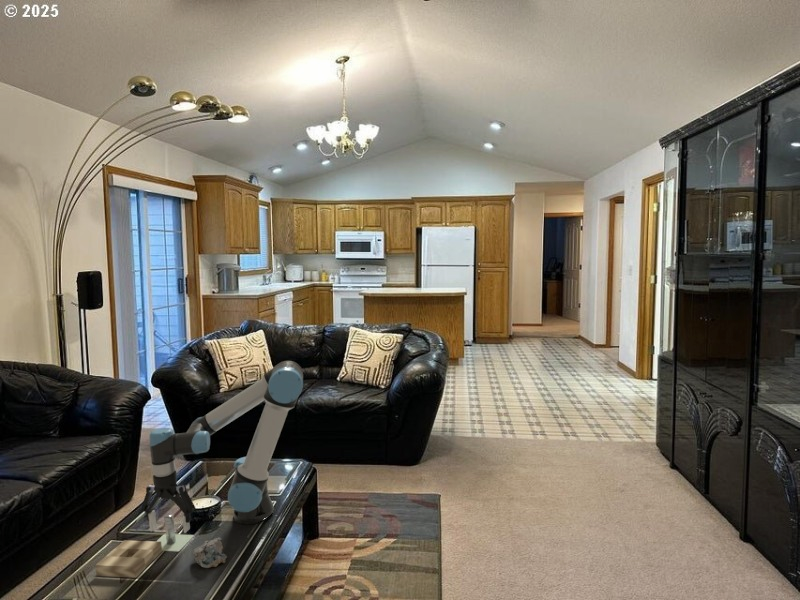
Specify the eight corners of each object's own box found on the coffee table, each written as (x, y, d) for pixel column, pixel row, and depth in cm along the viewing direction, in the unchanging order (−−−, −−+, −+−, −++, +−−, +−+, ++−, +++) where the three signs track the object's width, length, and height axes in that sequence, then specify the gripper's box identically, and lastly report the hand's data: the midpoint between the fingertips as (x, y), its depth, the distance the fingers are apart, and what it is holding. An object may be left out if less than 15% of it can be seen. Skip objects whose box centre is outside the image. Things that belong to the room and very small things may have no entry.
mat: (194, 536, 186) (194, 535, 186) (178, 552, 176) (178, 551, 176) (164, 534, 188) (164, 533, 188) (147, 551, 178) (147, 549, 178)
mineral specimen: (209, 582, 167) (220, 556, 177) (224, 569, 165) (234, 544, 174) (185, 567, 165) (197, 541, 174) (199, 554, 163) (211, 529, 172)
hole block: (162, 552, 177) (161, 541, 176) (136, 578, 163) (134, 566, 162) (125, 550, 179) (124, 540, 178) (96, 576, 165) (95, 565, 164)
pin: (177, 540, 183) (175, 513, 182) (172, 544, 180) (170, 518, 179) (169, 539, 184) (167, 513, 183) (164, 544, 181) (162, 517, 180)
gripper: (202, 468, 181) (207, 525, 183) (139, 467, 185) (145, 523, 187) (190, 477, 174) (196, 537, 176) (125, 476, 177) (131, 534, 179)
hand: (170, 530), depth 181 cm, fingers open, 12 cm apart
